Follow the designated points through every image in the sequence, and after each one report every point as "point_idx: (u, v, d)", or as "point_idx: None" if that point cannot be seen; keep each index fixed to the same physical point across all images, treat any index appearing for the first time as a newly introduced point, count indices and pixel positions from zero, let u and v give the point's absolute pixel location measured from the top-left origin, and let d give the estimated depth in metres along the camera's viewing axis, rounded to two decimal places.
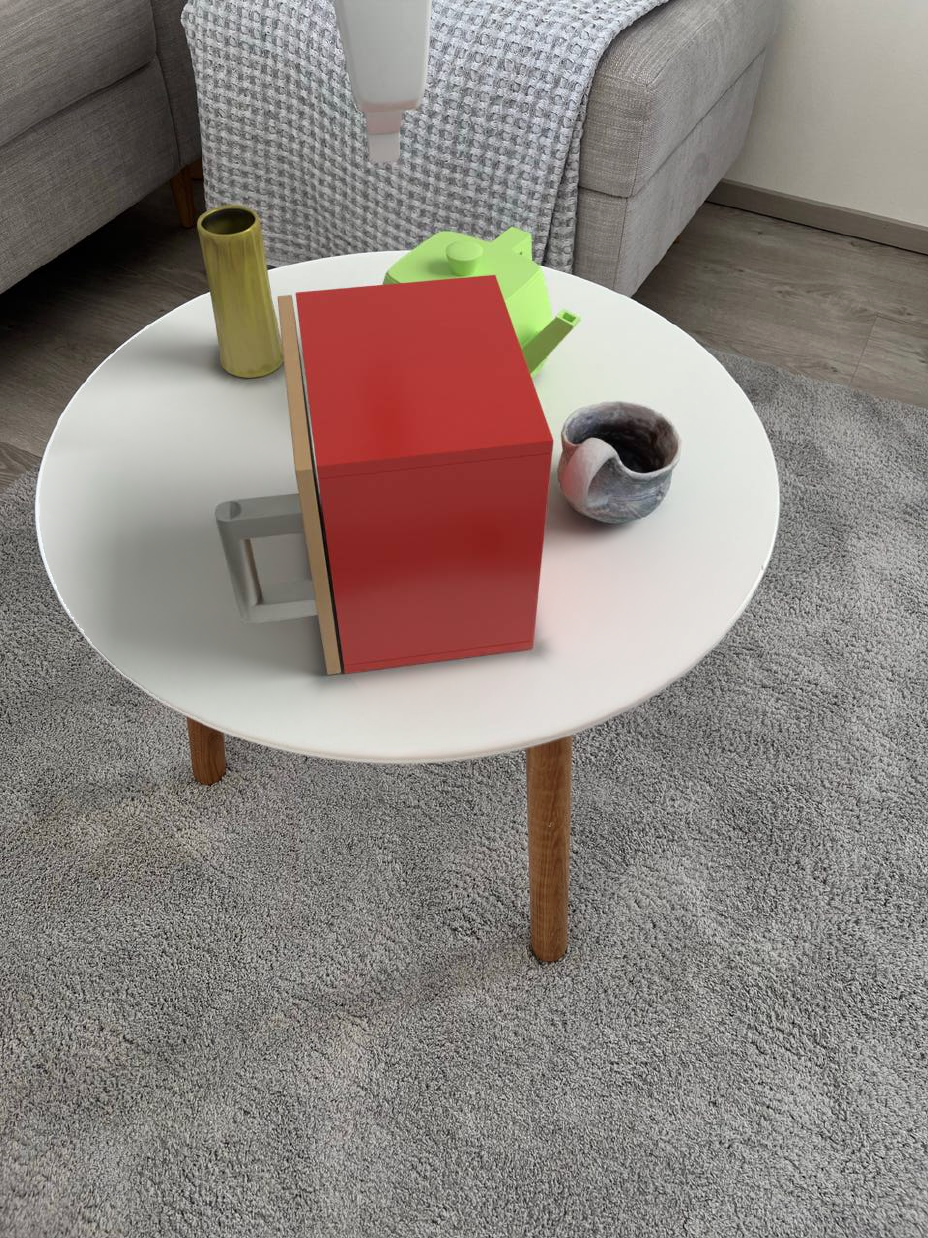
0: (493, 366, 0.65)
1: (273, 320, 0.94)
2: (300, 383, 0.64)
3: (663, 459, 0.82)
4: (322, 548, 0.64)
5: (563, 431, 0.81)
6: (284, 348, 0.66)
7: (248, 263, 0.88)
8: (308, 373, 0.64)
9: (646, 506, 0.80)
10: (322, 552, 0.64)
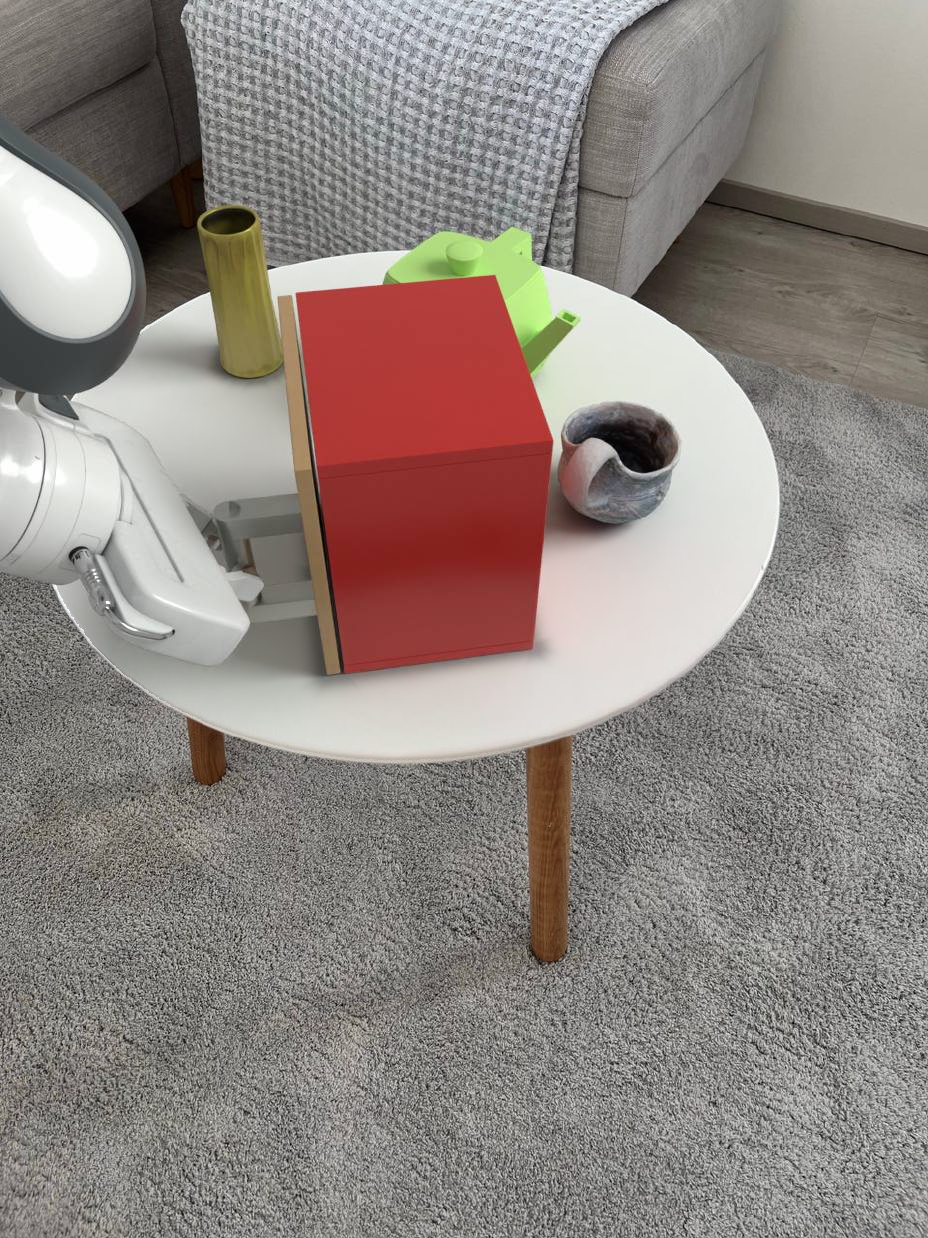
0: (493, 366, 0.65)
1: (273, 320, 0.94)
2: (300, 383, 0.64)
3: (663, 459, 0.82)
4: (321, 548, 0.64)
5: (563, 431, 0.81)
6: (284, 348, 0.66)
7: (248, 263, 0.88)
8: (308, 373, 0.64)
9: (646, 506, 0.80)
10: (321, 552, 0.64)
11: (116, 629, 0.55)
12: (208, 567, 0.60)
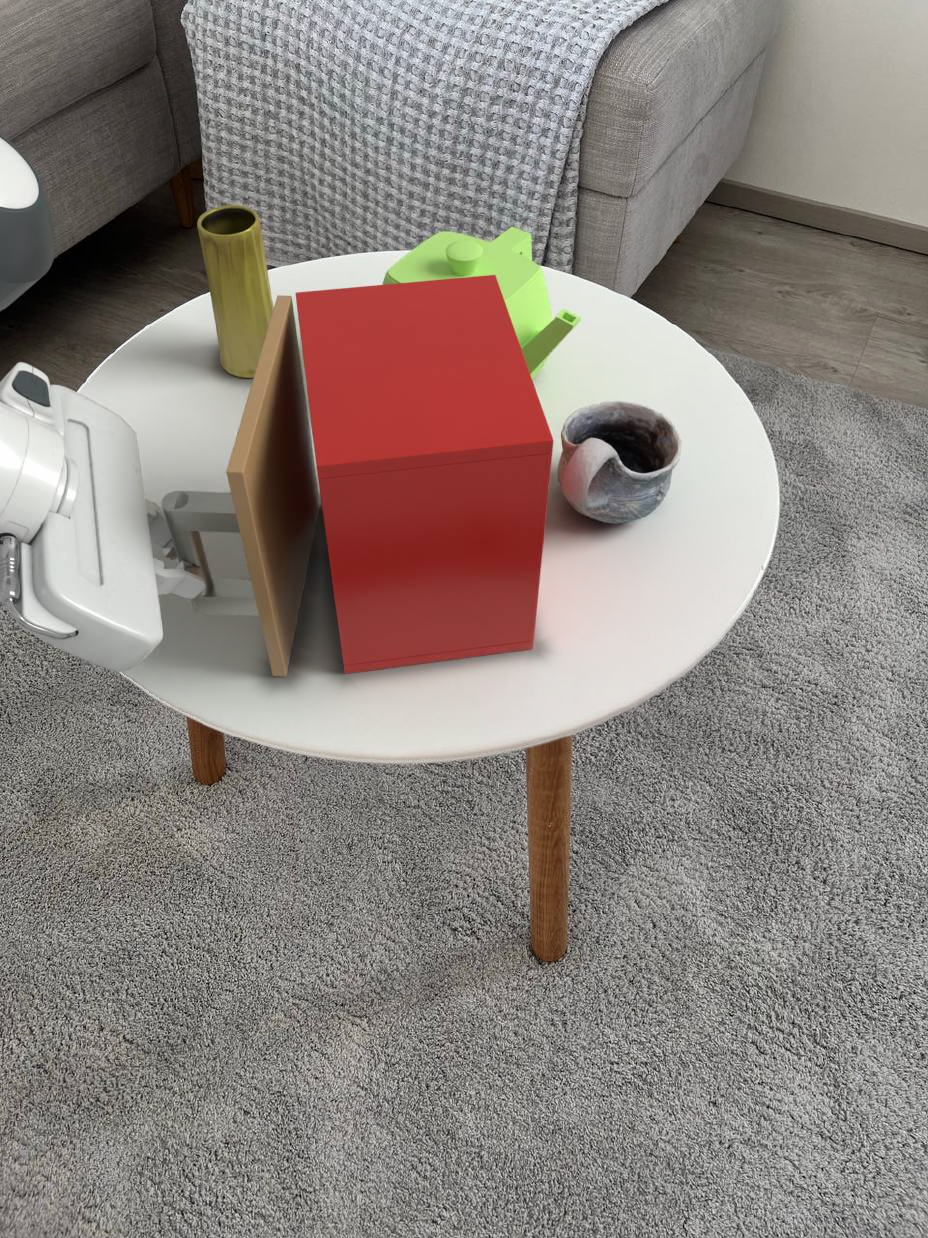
0: (493, 366, 0.65)
1: None
2: (265, 385, 0.63)
3: (663, 459, 0.82)
4: (259, 552, 0.63)
5: (563, 431, 0.81)
6: (263, 348, 0.66)
7: (248, 263, 0.88)
8: (308, 373, 0.64)
9: (646, 506, 0.80)
10: (259, 556, 0.64)
11: None
12: (139, 573, 0.61)
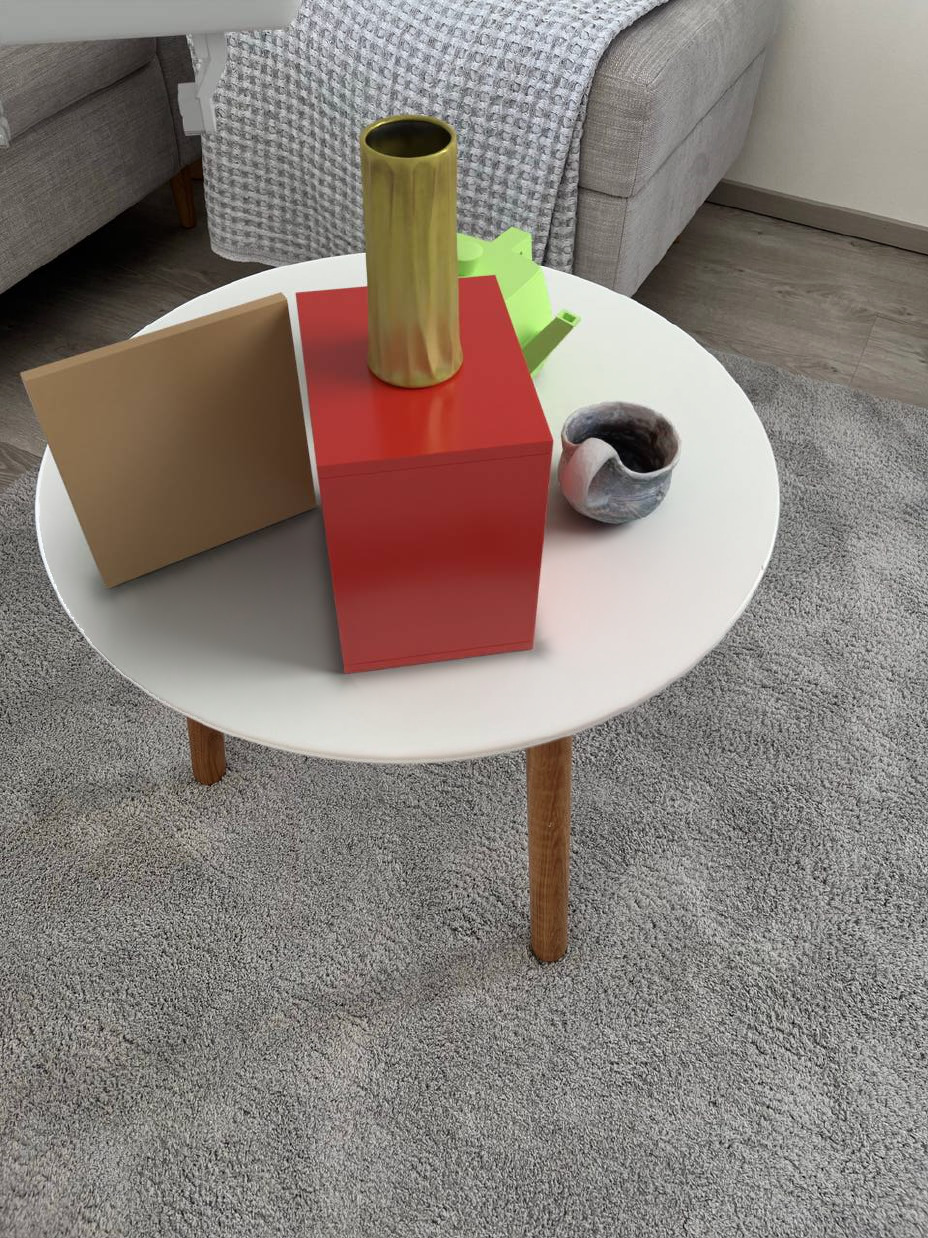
0: (493, 366, 0.65)
1: (457, 300, 0.61)
2: (146, 341, 0.66)
3: (663, 459, 0.82)
4: (55, 460, 0.69)
5: (563, 431, 0.81)
6: (197, 318, 0.68)
7: (437, 207, 0.55)
8: (308, 373, 0.64)
9: (646, 506, 0.80)
10: (56, 464, 0.69)
11: None
12: None
